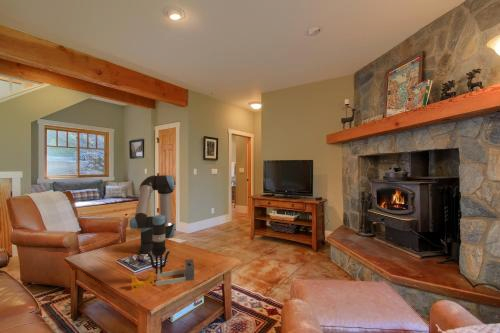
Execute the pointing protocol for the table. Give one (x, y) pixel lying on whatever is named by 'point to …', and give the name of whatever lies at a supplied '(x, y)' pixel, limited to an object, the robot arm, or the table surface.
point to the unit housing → (189, 269)
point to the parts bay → (170, 281)
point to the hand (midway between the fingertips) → (158, 278)
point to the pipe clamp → (142, 282)
